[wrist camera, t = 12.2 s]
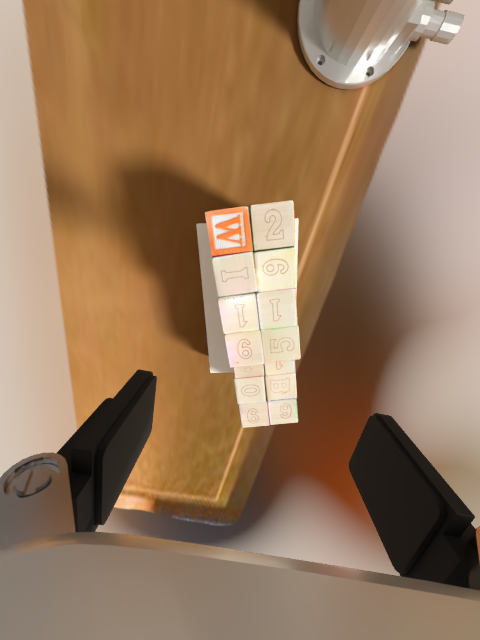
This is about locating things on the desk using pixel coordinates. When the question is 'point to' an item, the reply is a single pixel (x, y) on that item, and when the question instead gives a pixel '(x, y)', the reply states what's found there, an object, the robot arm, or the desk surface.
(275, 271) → the stack of blocks
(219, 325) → the block
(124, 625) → the robot arm
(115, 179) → the desk surface
